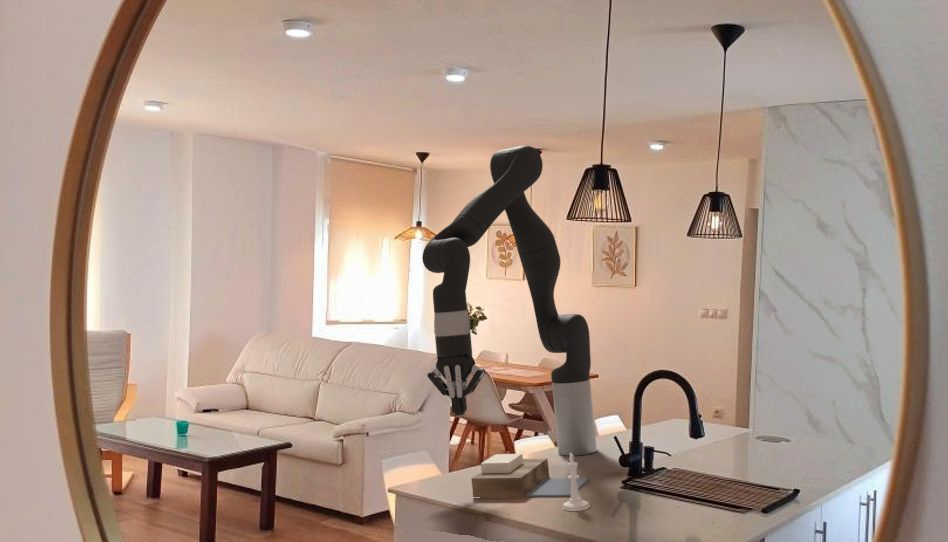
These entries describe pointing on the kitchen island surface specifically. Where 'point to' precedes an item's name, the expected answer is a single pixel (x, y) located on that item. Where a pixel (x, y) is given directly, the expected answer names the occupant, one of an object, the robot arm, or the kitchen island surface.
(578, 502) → the chess piece
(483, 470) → the white rectangular block
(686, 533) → the kitchen island surface
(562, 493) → the mat
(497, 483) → the block
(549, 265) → the robot arm
